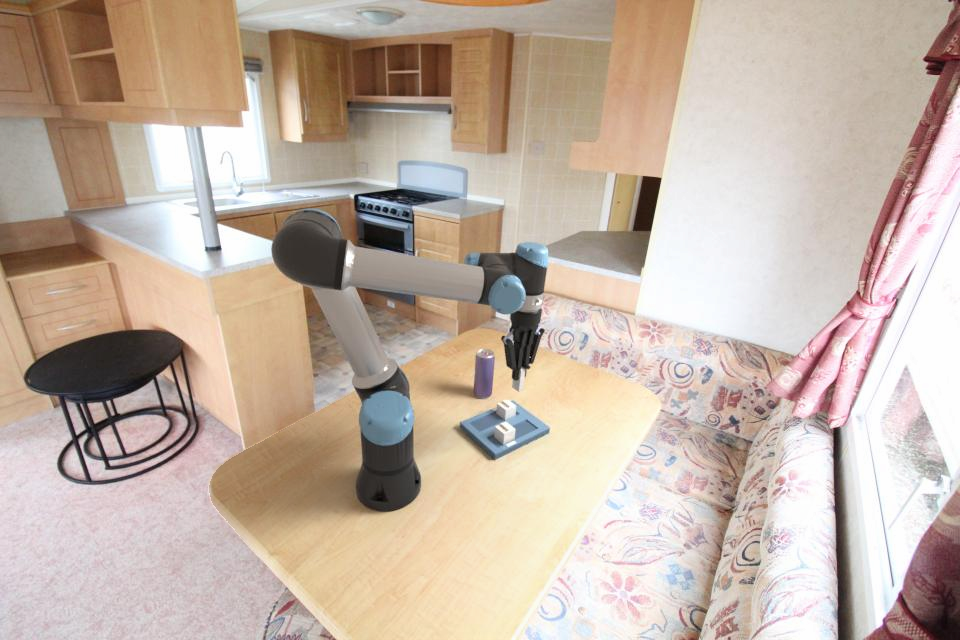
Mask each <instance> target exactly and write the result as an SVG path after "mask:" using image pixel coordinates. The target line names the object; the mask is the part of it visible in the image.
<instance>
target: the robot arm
mask: <svg viewBox="0 0 960 640" xmlns="http://www.w3.org/2000/svg"><path fill="white" fill-rule="evenodd" d="M271 243H272V244H271V257H272V259H273V263H274V265H275V267H277V269H278V271H279V272H281V273H282V274H283V275H284V276H285V277H286V278H288V279H290V280H292V282H296V283H299V284H300V285H302V286H303V287H306V288H310V290H311V292H312V293H313V295H314V297H315V299H316V301H317V303H318V305H319V306H320V308H321V311H322V312H323V315H324V316H325V318H326V319H325V320H326V321H327V322H328V324H329V326H330V329H331V331H332V333H333V334H334V336H335V338H336V340H337V342H338V344H339V346H340V348H341V350H342V352H343V354H344V356H345V358H346V360H347V362H348V364H349V365H350V367H351V370H352V371H353V375H352V377H351V384H352V386H353V388H354V389H355V392H356V394H357V396H358V398H359V400H360V403H361V406H360V409H359V415H358V426H359V428H360V429H359V432H360V441H361V443H360V444H361V458H362V459H361V460H362V461H361V462H362V463H361V465H360V468H359V471H358V475H357V478H356V482H355V488H356V489H355V490H356V496H357V499H358V500H359V501H360V503H362V504H363V505H364V506H365V507H367V508H368V509H371V510H374V511H378V512H391V511H396V510H397V511H398V510H399V509H403V508H406V506H408V505H410V504H411V503H412V502H414V500H416V498H417V497H418V496H419V494H420V492H421V488H422V476H421V475H422V474H421V471H420V470H419V468H418V465H417V463H416V460H415V458H414V454H415V452H414V423H415V413H414V412H415V411H414V408H413V404H412V402H411V395H410V384H409V383H410V382H409V379H408V377H407V375H406V373H405V372H404V371H403V369H401V368H400V366H399V364H398V362H397V361H396V360H395V359H393V358H390V357H388V356H387V353H386V351H385V350H384V349H385V348H384V347H383V345H382V343H381V340H380V338H379V336H378V334H377V332H376V330H375V327H374V325H373V322H372V320H371V318H370V317H369V314H368V312H367V309H366V308H365V306H364V304H363V301H362V299H361V296H360V295H359V292H358V290H357V288H361V289H367V290H375V291H381V292H382V291H383V292H390V293H397V294H404V295H410V296H411V295H413V296H419V297H427V298H435V299H440V300H448V301H457V302H465V303H470V304H471V303H472V304H478V305H485V306H490V307H491V309H493V310H494V311H496V312H497V313H498V314H501V315H509V320H510V323H511V326H510V328H509V330H508V331H509V332H508V334H506V335H502V336H501V339H500V340H501V341H502V343H503V349H504V356H505V365H506V367H507V368H509V369H510V370H512V371H511V372H512V373H511V378H512V385H511V387H512V388H513V389H514V390H515V391H517V392H518V393H520V392H522V391H524V384H525V378H526V377H527V370H531V365H533V364H534V362H535V359H536V355H537V353H538V349H539V346H540V343H541V340H542V337H543V335H544V334H545V332H546V331H545V330H546V329H545V328H543V327H541V326H540V325H539V324H540V323H541V321H542V311H543V310H542V308H543V304H544V303H543V301H544V294H545V285H546V279H547V272H548V268H549V249H548V247H547V246H545V245H544V244H541V243H538V242H531V241H529V242H528V241H526V242H521V243H518V245H516V249H515V252H481V251H480V252H472V253H471V252H469V253H467V254H466V255H465V256H464V261H463V263H460V262H453V261H445V260H443V259H435V258H430V257H429V258H428V257H422V256H417V255H411V254H410V255H409V254H406V253H405V254H404V253H397V252H391V251H385V250H379V249H372V248H366V247H360V246H355V245H354V244H353V243H352V241H351V240H350V239H344V238H343V234H342V230H341V227H340V225H339V223H338V221H337V220H336V218H334V217H333V216H332V215H331V214H330V213H328V212H327V211H324V210H322V209H318V208H313V207H309V208H302V209H299V210H298V211H296V212H294V213H291V214H290V215H289V216H287V218H286V219H285V220H284V222H283V224H282V226H281V228H280V229H278V230H277V232H276V233H275V235H274V237H273V239H272V242H271Z"/></svg>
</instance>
